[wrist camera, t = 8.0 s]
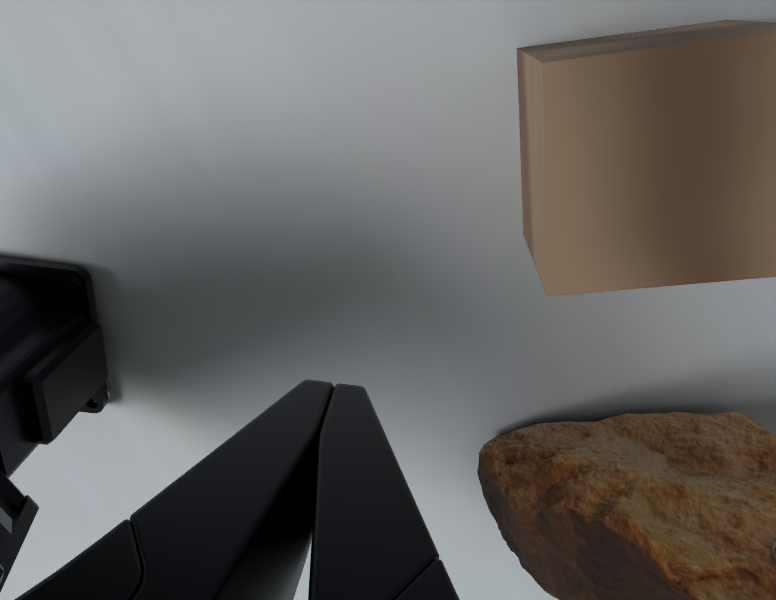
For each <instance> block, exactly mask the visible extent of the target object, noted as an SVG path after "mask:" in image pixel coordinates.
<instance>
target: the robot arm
mask: <svg viewBox="0 0 776 600" xmlns="http://www.w3.org/2000/svg"><path fill="white" fill-rule="evenodd" d="M72 276H73V277H76V278H77V279H78V280H79V283H80V284H78V283H76V282H74V281H73V279H72ZM107 378H108V372H107V365H106V357H105V350H104V343H103V335H102V328H101V325H100V324H99V322H98V321H97V314H96V307H95V299H94V292H93V285H92V279H91V276H90V274H89V273H88V271H87V270H85V269H84V268H82V267H79V266H75V265H66V264H58V263H50V262H41V261H33V260H24V259H16V258H8V257H0V592H1V590H2V587H3V585H4V583H5V581H6V579H7V576H8V574H9V572H10V570H11V568H12V566H13V563H14V561H15V559H16V557H17V555H18V553H19V550H20V548H21V546H22V544H23V542H24V539H25V537H26V535H27V533H28V531H29V529H30V526H31V524H32V522H33V520H34V518H35V515H36V513H37V511H38V509H39V506H38V505H37V504H36V503H35V502H34V501H33V500H32V499H31V498H30V497H29V496H28V495H27V496H24V495H23V494H22V493H21V492H20V490H19V489H18V488H17V487H16V486H15V485H14V484H13V483H12V482H11V481H10V479H9V477H10V476H11V475H12V474H13V472H14V471H15V470H16V469H17V468H18V467H19V466H20V465H21V463H22V462H23V461H24V460H25V459H26V458H27V457H28V456H29V454H30V453H31V452H32V451H33V450H34V449H35V448H36V447H37V446H38V444H46V445H48V444H49V443H51V442H52V441H53V440H54V439H55V438H56V437H57V436H58V435H59V434H60V433H61V432H62V430H63V429H64V428H65V427H66V426H67V425H68V423H69V422H70V421H71V420H72V419H73V418H74V417H75V415H76V414H77V413H78V412H79V411H80V412H88V413H98V412H101V411H102V409H103V408H104V407H105V406H106V404H107V403H108V394H107V386H106V380H107ZM91 398H92V399H94V400H95V401H97V402H94V401H93V400H92V399H91ZM311 539H312V545H311V562H310V579H309V597H308V600H460V599H459V597H458V595H457V593H456V591H455V589H454V587H453V585H452V583H451V580H450V578H449V576H448V574H447V571H446V569H445V567H444V565H443V562H442V561H441V560H439V554H438V552H437V550H436V547H435V545H434V543H433V541H432V538H431V536H430V534H429V532H428V529H427V527H426V525H425V523H424V520H423V518H422V516H421V514H420V511H419V509H418V507H417V505H416V502H415V500H414V498H413V496H412V493H411V491H410V489H409V487H408V484H407V482H406V480H405V478H404V475H403V473H402V471H401V469H400V466H399V464H398V462H397V460H396V457H395V455H394V453H393V451H392V448H391V446H390V444H389V442H388V439H387V437H386V435H385V433H384V430H383V428H382V426H381V424H380V421H379V419H378V417H377V415H376V412H375V410H374V408H373V406H372V403H371V401H370V399H369V397H368V394H367V392H366V390H365V388H363V387H362V386H356V385H347V384H337V385H335V387H334V386H333V384H332V383H330V382H323V381H315V380H305V381H303V382H301V383H300V384H299V385H297V386H296V387H295V388H293V389H292V390H291V391H290V392H288V393H287V394H286V395H285V396H283V397H282V398H281V399H279V400H278V401H277V402H276V403H274V404H273V405H272V406H270V407H269V408H268V409H267V410H265V411H264V412H263V413H261V414H260V415H259V416H258V417H256V418H255V419H254V420H252V421H251V422H250V423H249V424H247V425H246V426H245V427H243V428H242V429H241V430H240V431H238V432H237V433H236V434H235V435H233V436H232V437H231V438H229V439H228V440H227V441H226V442H224V443H223V444H222V445H220V446H219V447H218V448H217V449H215V450H214V451H213V452H211V453H210V454H209V455H208V456H206V457H205V458H204V459H202V460H201V461H200V462H199V463H197V464H196V465H195V466H193V467H192V468H191V469H190V470H188V471H187V472H186V473H185V474H183V475H182V476H181V477H179V478H178V479H177V480H176V481H174V482H173V483H172V484H170V485H169V486H168V487H167V488H165V489H164V490H163V491H161V492H160V493H159V494H158V495H156V496H155V497H154V498H152V499H151V500H150V501H149V502H147V503H146V504H145V505H143V506H142V507H141V508H140V509H138V510H137V511H136V512H135V513H133V514H132V515H131V517H130V520H124V521H123V522H121V523H120V524H119V525H117V526H116V527H115V528H114V529H112V530H111V531H110V532H108V533H107V534H106V535H105V536H103V537H102V538H101V539H99V540H98V541H97V542H95V543H94V544H93V545H91V546H90V547H89V548H87V549H86V550H85V551H83V552H82V553H81V554H79V555H78V556H77V557H75V558H74V559H73V560H71V561H70V562H68V563H67V564H66V565H64V566H63V567H62V568H60V569H59V570H58V571H56V572H55V573H53V574H52V575H50V576H49V577H47V578H46V579H44V580H43V581H42V582H40V583H39V584H37V585H36V586H34V587H33V588H31V589H30V590H28V591H27V592H25V593H24V594H22V595H21V596H19V597H18V598H16V599H15V600H293V598H294V595H295V592H296V589H297V586H298V583H299V580H300V577H301V573H302V570H303V567H304V564H305V561H306V557H307V554H308V551H309V547H310V544H311Z"/></svg>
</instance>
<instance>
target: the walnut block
mask: <svg viewBox="0 0 776 600" xmlns="http://www.w3.org/2000/svg"><path fill="white" fill-rule="evenodd" d="M517 66H518V94H519V122H520V151H521V179H522V208H523V235H524V237H525V240H526V242H527V245H528V248H529V250H530V253H531V256H532V258H533V261H534V263H535V266H536V269H537V271H538V274H539V277H540V279H541V282H542V284H543V287H544V290H545V292H546V295H547V296H556V295H567V294H579V293H591V292H602V291H614V290H626V289H637V288H649V287H661V286H672V285H684V284H696V283H707V282H719V281H731V280H742V279H754V278H766V277H776V23H766V22H750V21H733V20H723V21H716V22H708V23H701V24H694V25H686V26H679V27H671V28H664V29H657V30H649V31H642V32H635V33H627V34H620V35H612V36H605V37H598V38H590V39H583V40H575V41H568V42H561V43H553V44H546V45H539V46H531V47H524V48H517Z"/></svg>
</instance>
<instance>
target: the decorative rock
mask: <svg viewBox="0 0 776 600" xmlns="http://www.w3.org/2000/svg"><path fill="white" fill-rule="evenodd" d="M477 472H478V476H479V480H480V483H481V486H482V491H483V496H484V498H485V500H486V503H487V505H488V508H489V510H490V512H491V514H492V515H493V517H494V519H495V520H496V522H497V524H498V529H499V530H500V531H501V534H502V537H503V539H504V540H505V541H506V542H507V545H508V547H509V548H510V550H511V551H512V552H514V553H515V554H516V555H517V557H518V558H519V561H520V564H521V566H522V567H523V568H524V569H525V570H526V571H527V572H528V573H529V574H530V575H531V576H532V577H533V578H534V580H535V581H536V582H537V584H539V585H540V586H541V587H542V589H543V590H544V591H546V592H547V593H549V594H550V595H551V596H553V597H555V598H557V599H559V600H776V438H775V437H774V436H773V435H771V434H770V433H769V432H767V431H766V430H765V429H763V428H762V427H761V426H760V425H758V424H757V423H756V422H754V421H753V420H751V419H750V418H748V417H747V416H745V415H744V414H742V413H740V412H735V411H730V412H724V413H715V414H695V413H685V412H670V413H645V414H632V413H626V414H622V415H618V416H613V417H610V418H607V419H603V420H600V421H597V422H568V421H565V422H555V423H539V424H535V425H532V426H528V427H524V428H520V429H516V430H514V431H512V432H510V433H508V434H505V435H502V436H499V437H496V438H494V439H492V440H490V441H489V442H487V443H486V444H485V445H484V446H483V448H482V449H481V451H480V454H479V467H478V471H477Z"/></svg>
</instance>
